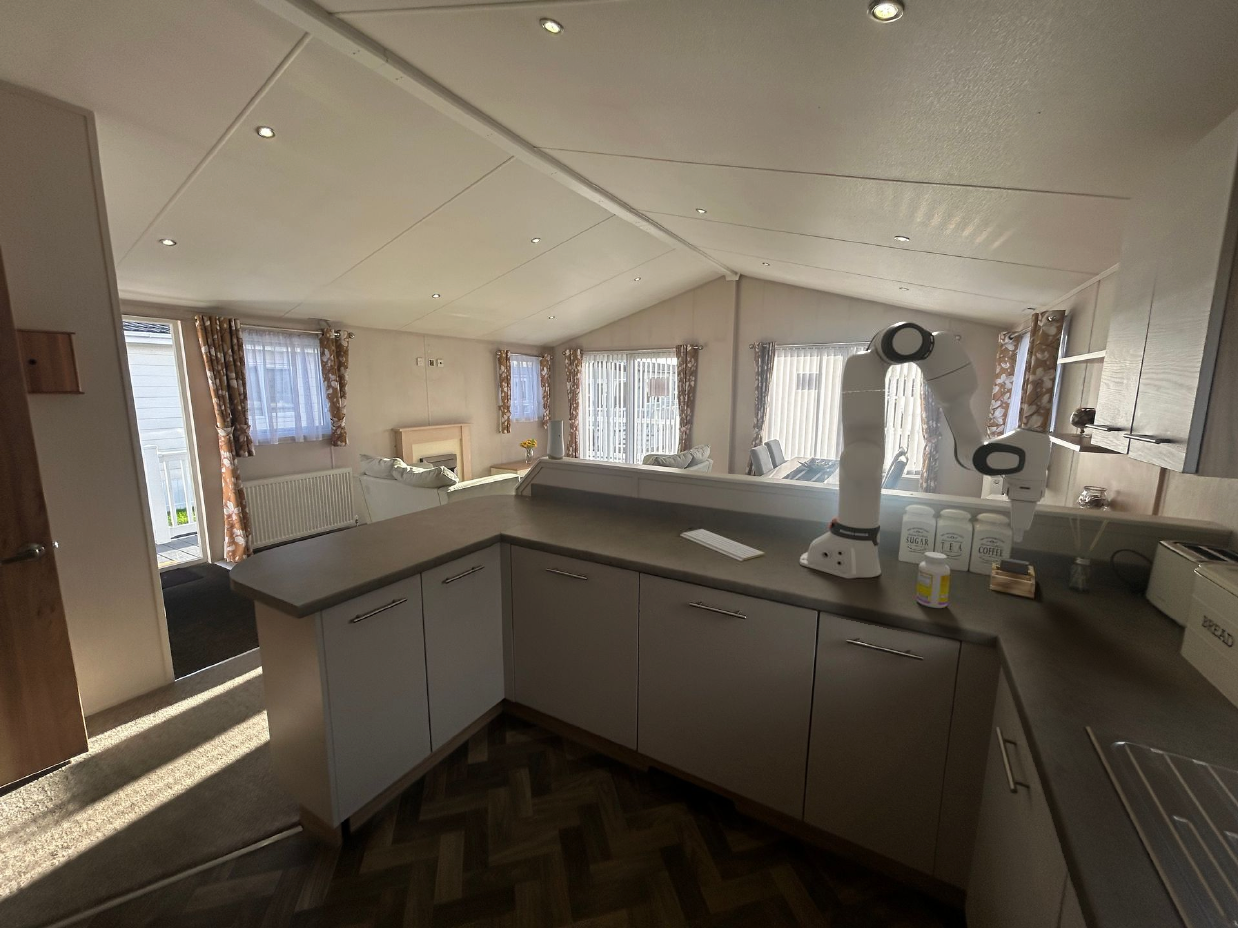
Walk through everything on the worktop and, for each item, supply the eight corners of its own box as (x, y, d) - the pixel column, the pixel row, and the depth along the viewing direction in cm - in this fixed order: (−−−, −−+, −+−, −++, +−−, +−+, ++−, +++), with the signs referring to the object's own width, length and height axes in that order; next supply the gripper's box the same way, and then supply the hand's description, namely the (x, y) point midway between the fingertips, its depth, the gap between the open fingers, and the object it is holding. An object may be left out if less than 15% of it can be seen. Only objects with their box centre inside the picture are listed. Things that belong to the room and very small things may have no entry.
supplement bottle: (944, 600, 125) (949, 552, 123) (948, 611, 119) (954, 561, 117) (914, 595, 128) (919, 548, 125) (916, 605, 122) (921, 557, 120)
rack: (989, 588, 131) (991, 575, 131) (991, 568, 145) (993, 556, 145) (1033, 597, 126) (1035, 584, 125) (1031, 576, 140) (1033, 563, 139)
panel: (998, 578, 136) (1000, 559, 135) (998, 575, 138) (1000, 557, 137) (1026, 583, 132) (1028, 564, 131) (1026, 580, 134) (1028, 561, 133)
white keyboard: (737, 564, 152) (764, 557, 158) (737, 555, 152) (764, 548, 158) (676, 537, 178) (701, 532, 184) (676, 530, 178) (701, 525, 184)
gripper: (1008, 480, 141) (1002, 526, 143) (1008, 493, 125) (1002, 545, 127) (1037, 483, 137) (1030, 530, 139) (1041, 497, 121) (1033, 550, 123)
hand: (1017, 537), depth 133 cm, fingers open, 5 cm apart
